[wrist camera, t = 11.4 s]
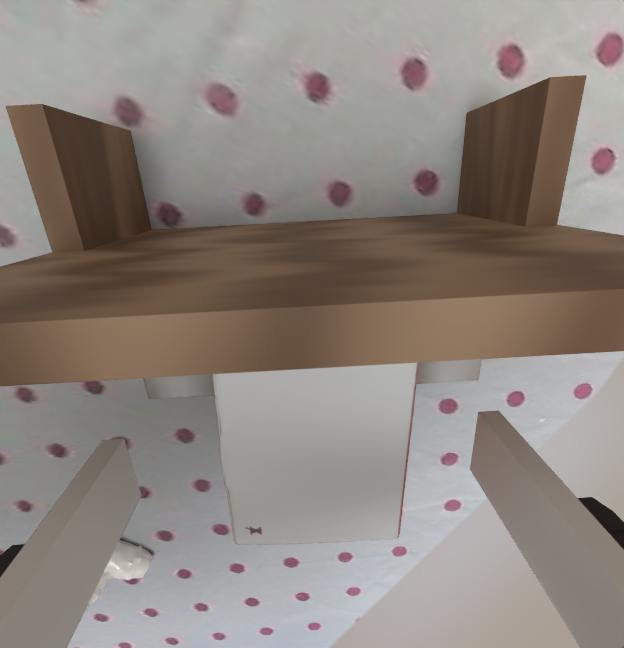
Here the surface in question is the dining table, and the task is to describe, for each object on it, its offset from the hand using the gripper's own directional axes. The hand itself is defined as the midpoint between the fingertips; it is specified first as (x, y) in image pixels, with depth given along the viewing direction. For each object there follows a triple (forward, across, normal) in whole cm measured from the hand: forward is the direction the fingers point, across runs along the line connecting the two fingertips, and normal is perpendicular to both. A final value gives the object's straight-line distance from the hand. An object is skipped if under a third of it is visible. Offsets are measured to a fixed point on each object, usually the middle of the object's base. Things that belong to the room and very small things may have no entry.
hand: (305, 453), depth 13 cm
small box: (+12, +1, +1) cm, 12 cm away
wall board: (+15, +1, +4) cm, 15 cm away
